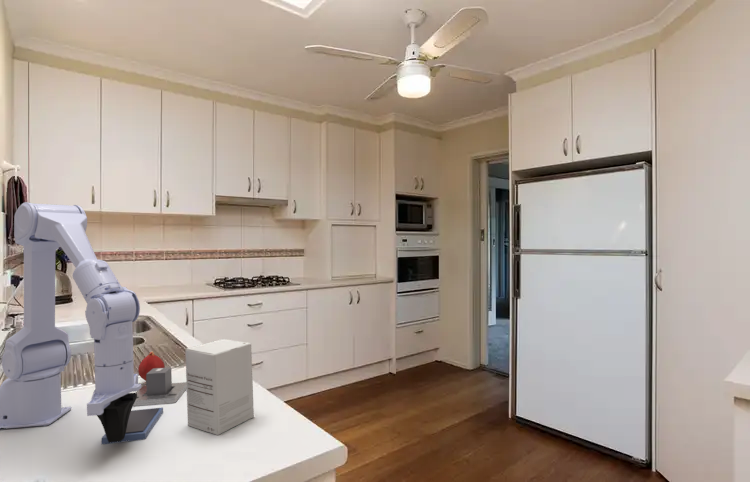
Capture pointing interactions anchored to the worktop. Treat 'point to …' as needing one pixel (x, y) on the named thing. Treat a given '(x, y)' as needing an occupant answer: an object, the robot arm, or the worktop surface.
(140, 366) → the onion
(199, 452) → the worktop surface
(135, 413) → the phone
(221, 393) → the supplement box
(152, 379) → the block
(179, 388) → the plate
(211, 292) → the worktop surface
